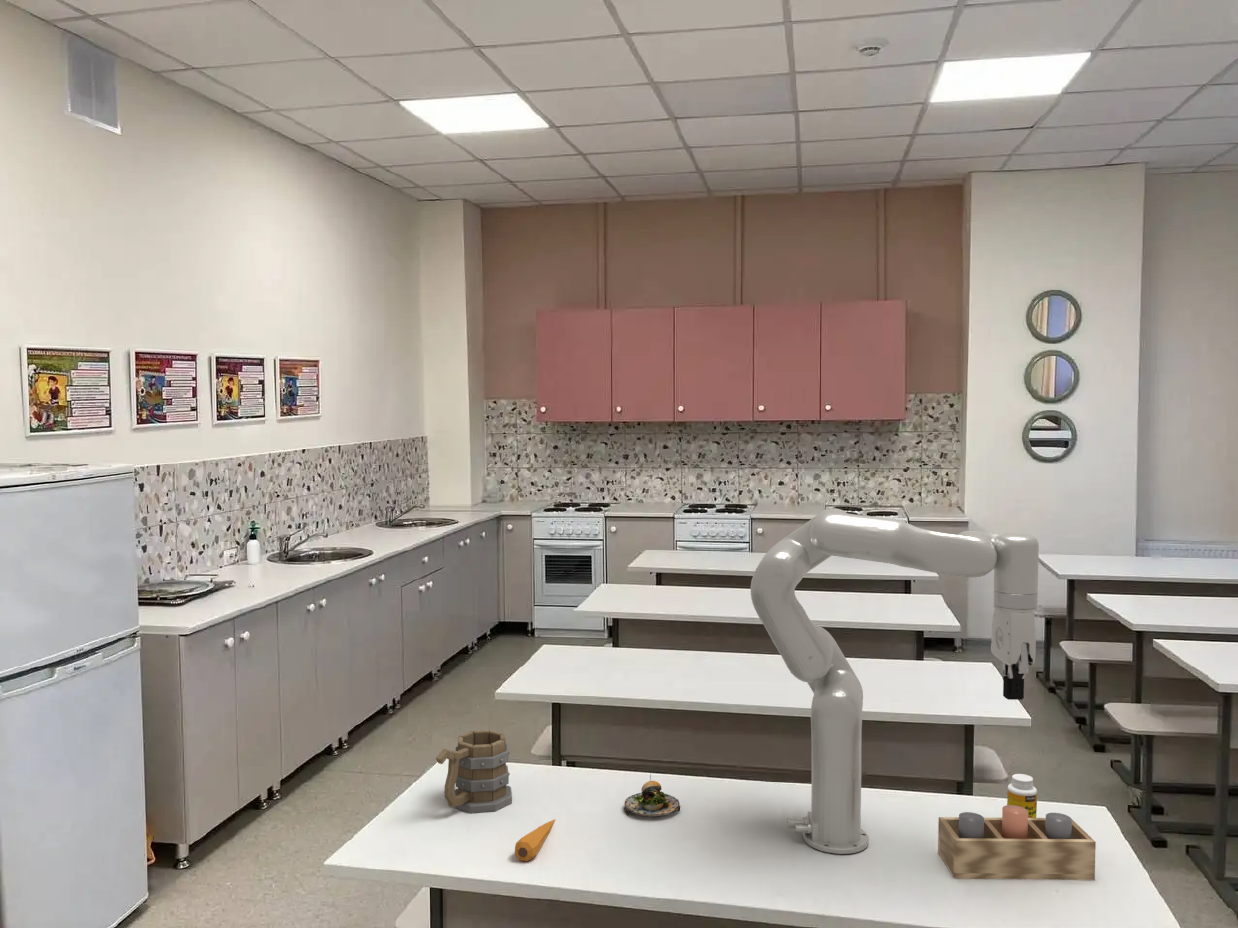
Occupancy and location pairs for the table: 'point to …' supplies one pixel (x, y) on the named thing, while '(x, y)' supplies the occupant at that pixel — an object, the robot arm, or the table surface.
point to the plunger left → (971, 825)
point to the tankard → (478, 772)
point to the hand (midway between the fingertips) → (1013, 697)
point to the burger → (651, 801)
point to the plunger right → (1058, 826)
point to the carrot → (532, 842)
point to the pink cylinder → (1014, 822)
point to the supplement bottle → (1023, 794)
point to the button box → (1016, 853)
